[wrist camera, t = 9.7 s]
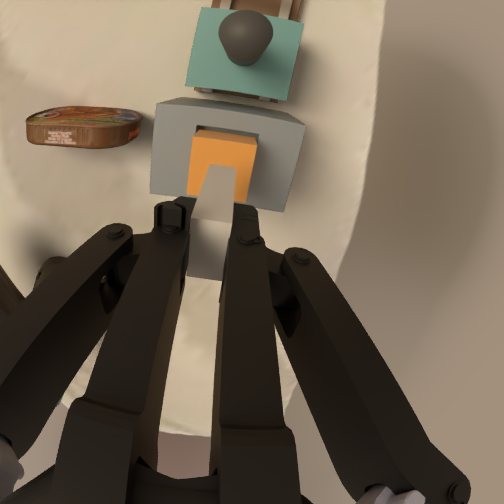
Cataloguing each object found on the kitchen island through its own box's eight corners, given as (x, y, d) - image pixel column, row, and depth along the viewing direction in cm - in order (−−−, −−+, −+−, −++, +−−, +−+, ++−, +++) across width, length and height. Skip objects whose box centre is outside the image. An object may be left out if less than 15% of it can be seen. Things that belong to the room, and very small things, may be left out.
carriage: (280, 99, 25) (309, 110, 14) (192, 85, 24) (155, 87, 13) (295, 31, 20) (336, -3, 10) (206, 17, 19) (181, -28, 8)
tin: (152, 111, 27) (124, 122, 20) (147, 136, 29) (120, 155, 22) (52, 105, 24) (12, 118, 18) (51, 127, 26) (12, 145, 19)
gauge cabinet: (173, 161, 31) (149, 193, 23) (181, 97, 26) (156, 103, 18) (275, 176, 33) (288, 213, 24) (290, 113, 28) (311, 127, 20)
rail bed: (275, 102, 27) (278, 103, 25) (196, 89, 26) (192, 90, 24) (310, -48, 15) (315, -56, 13) (234, -61, 14) (233, -70, 12)
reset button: (192, 180, 22) (186, 194, 20) (199, 129, 20) (192, 136, 17) (244, 187, 23) (245, 202, 20) (255, 137, 20) (257, 145, 18)
